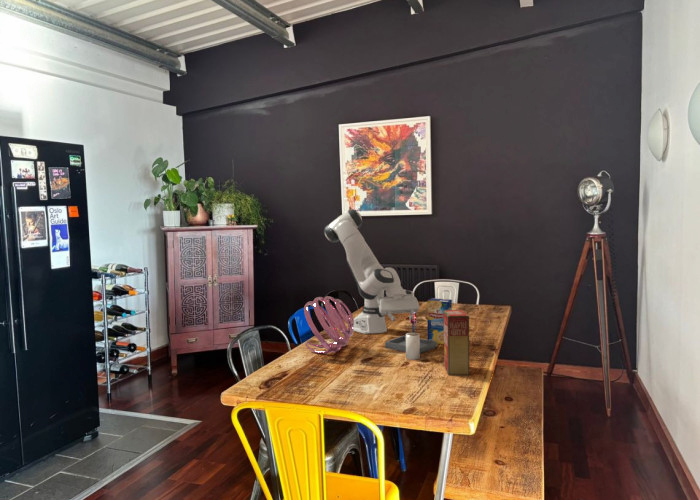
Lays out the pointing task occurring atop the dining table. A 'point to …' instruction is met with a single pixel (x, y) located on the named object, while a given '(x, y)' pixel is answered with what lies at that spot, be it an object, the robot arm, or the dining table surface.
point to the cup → (412, 346)
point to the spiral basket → (330, 323)
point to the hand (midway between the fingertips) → (402, 319)
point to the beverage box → (436, 318)
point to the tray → (401, 344)
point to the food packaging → (456, 342)
